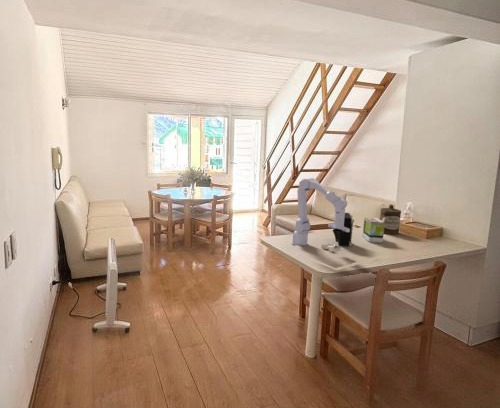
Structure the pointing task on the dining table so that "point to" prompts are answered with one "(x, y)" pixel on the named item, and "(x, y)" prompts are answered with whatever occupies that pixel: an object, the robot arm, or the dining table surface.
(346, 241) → the electrical component
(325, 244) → the heatsink
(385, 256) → the dining table surface
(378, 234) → the tea box
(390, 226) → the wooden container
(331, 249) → the white stepped block
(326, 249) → the brown flat bar
